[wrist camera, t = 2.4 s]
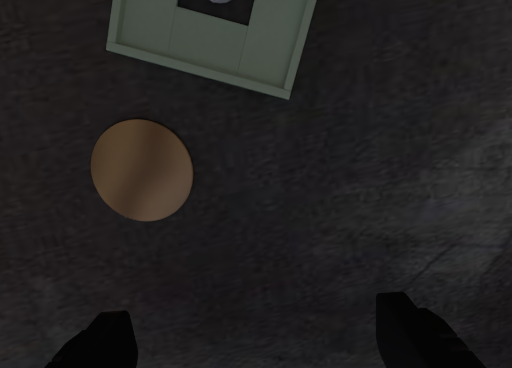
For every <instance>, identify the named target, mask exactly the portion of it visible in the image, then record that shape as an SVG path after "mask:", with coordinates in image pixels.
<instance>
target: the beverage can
mask: <svg viewBox="0 0 512 368" xmlns="http://www.w3.org/2000/svg"><path fill="white" fill-rule="evenodd" d="M210 1H212V2H215V3H227V2H229V1H231V0H210Z"/></svg>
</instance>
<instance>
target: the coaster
mask: <svg viewBox="0 0 512 368" xmlns="http://www.w3.org/2000/svg"><path fill="white" fill-rule="evenodd" d="M91 173H92V178H93V182H94V185H95V187H96V189H97V191H98V193H99V194H100V196H101V197H102V199H103V200H104V201H105V202H106V203H107V204H108V205H109V206H110V207H111V208H112V209H113V210H115V211H116V212H118V213H119V214H121V215H123V216H125V217H128V218H131V219H134V220H139V221H154V220H159V219H162V218H165V217H167V216H169V215H171V214H173V213H174V212H176V211H177V210H178V209H179V208H180V207H181V206H182V205H183V204H184V202H185V201H186V199H187V198H188V196H189V194H190V192H191V188H192V185H193V175H194V172H193V164H192V160H191V157H190V155H189V152H188V150H187V148H186V147H185V145H184V144H183V142H182V141H181V140H180V139H179V137H178V136H177V135H176V134H174V133H173V132H172V131H171V130H169V129H168V128H166V127H165V126H163V125H161V124H159V123H156V122H153V121H149V120H141V119H134V120H127V121H123V122H120V123H117V124H115V125H113V126H112V127H110V128H109V129H108V130H106V131H105V132H104V133H103V134H102V135H101V137H100V138H99V139H98V141H97V143H96V145H95V147H94V150H93V153H92V158H91Z"/></svg>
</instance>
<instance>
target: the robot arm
mask: <svg viewBox="0 0 512 368" xmlns="http://www.w3.org/2000/svg"><path fill="white" fill-rule="evenodd" d="M376 339H377V345H378V349H379V352H380V355H381V358H382V360H383V362H384V364H385V366H386V368H486V367H485V366H484V365H483V364H482V363H481V361H480V360H479V359H478V358H477V357H476V356H475V355H474V353H473V352H472V351H469V349H468V347H467V345H466V344H465V343H464V342H463V341H462V340H461V339H460V338H458V337H457V334H456V333H455V332H454V331H453V330H452V328H451V327H450V326H449V325H448V324H447V323H446V322H445V321H444V320H443V319H442V318H440V317H439V316H437V315H436V314H434V313H433V312H431V311H430V310H428V309H427V308H419V309H418V308H417V307H416V306H415V305H414V303H413V302H412V301H411V300H410V298H409V297H408V296H407V295H406V294H405V293H404V292H390V293H378V294H377V296H376ZM137 360H138V349H137V344H136V340H135V336H134V332H133V327H132V323H131V319H130V315H129V313H128V312H127V311H125V310H124V311H110V312H102V313H100V314H99V315H98V316H97V317H96V318H95V319H94V321H93V322H92V323H91V324H90V325H89V327H88V328H87V329H86V330H83V331H81V332H80V333H79V334H77V335H76V336H75V337H73V338H72V339H71V340H69V341H68V342H67V343H65V345H64V346H63V347H62V348H61V349H60V350H59V351H58V353H57V354H56V355H55V356H54V357H53V358H52V362H49V363H48V364H47V365H46V366H45V368H136V365H137Z"/></svg>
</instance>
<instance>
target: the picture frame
mask: <svg viewBox="0 0 512 368" xmlns="http://www.w3.org/2000/svg"><path fill="white" fill-rule="evenodd" d="M316 1H317V0H254V4H253V8H252V13H251V17H250V21H249V25H248V26H246V25H242V24H239V23H235V22H231V21H228V20H224V19H221V18H217V17H213V16H210V15H206V14H202V13H199V12H195V11H192V10H188V9H184V8H181V7H177V5H178V0H113V2H112V9H111V17H110V24H109V32H108V41H107V46H106V50H108V51H110V52H112V53H115V54H119V55H123V56H126V57H130V58H134V59H137V60H141V61H145V62H148V63H152V64H156V65H159V66H163V67H167V68H170V69H174V70H178V71H181V72H185V73H189V74H192V75H196V76H200V77H203V78H207V79H211V80H214V81H218V82H222V83H225V84H229V85H233V86H236V87H240V88H244V89H247V90H251V91H255V92H258V93H262V94H266V95H269V96H273V97H277V98H280V99H284V100H289V98H290V94H291V90H292V87H293V83H294V79H295V76H296V72H297V69H298V65H299V62H300V58H301V54H302V51H303V47H304V44H305V40H306V36H307V33H308V29H309V26H310V22H311V18H312V15H313V11H314V8H315V4H316Z"/></svg>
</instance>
